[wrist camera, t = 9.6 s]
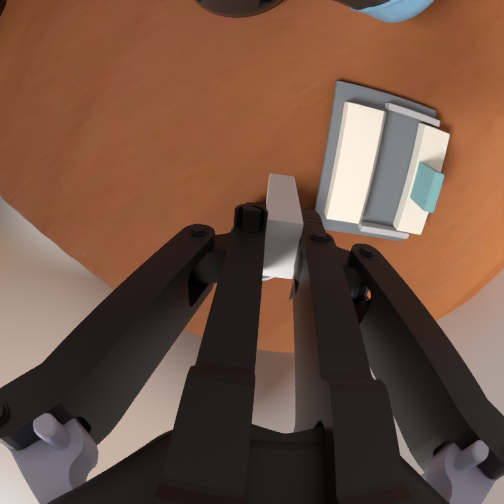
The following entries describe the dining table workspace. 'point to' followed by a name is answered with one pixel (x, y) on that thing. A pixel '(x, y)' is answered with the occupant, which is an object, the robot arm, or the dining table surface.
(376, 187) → the board
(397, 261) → the dining table surface
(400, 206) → the white long block
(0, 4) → the manual coffee grinder
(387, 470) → the robot arm
